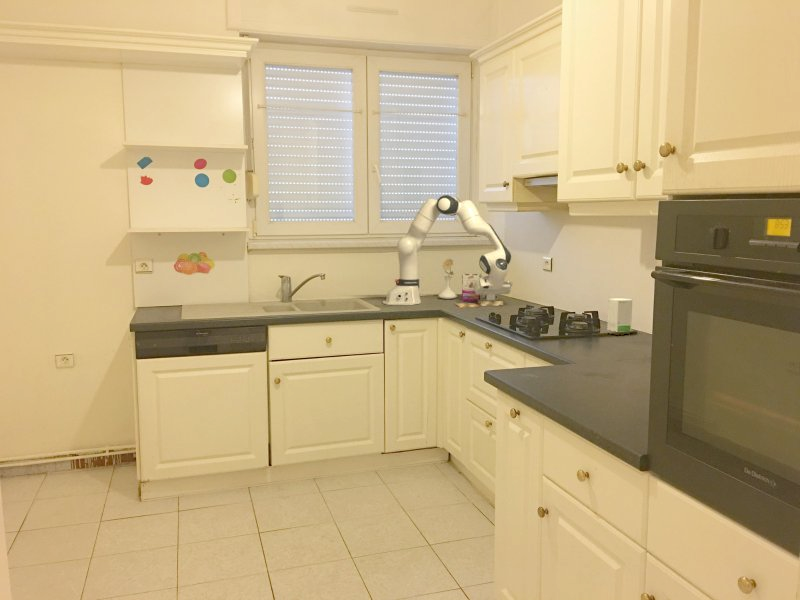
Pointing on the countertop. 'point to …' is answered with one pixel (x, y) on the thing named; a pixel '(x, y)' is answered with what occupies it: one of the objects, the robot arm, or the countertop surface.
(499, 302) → the birch box
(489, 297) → the grey block
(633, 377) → the countertop surface
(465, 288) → the candy bar box
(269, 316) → the countertop surface
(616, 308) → the skincare box
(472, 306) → the cork mat
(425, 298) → the countertop surface
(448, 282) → the flower in vase
